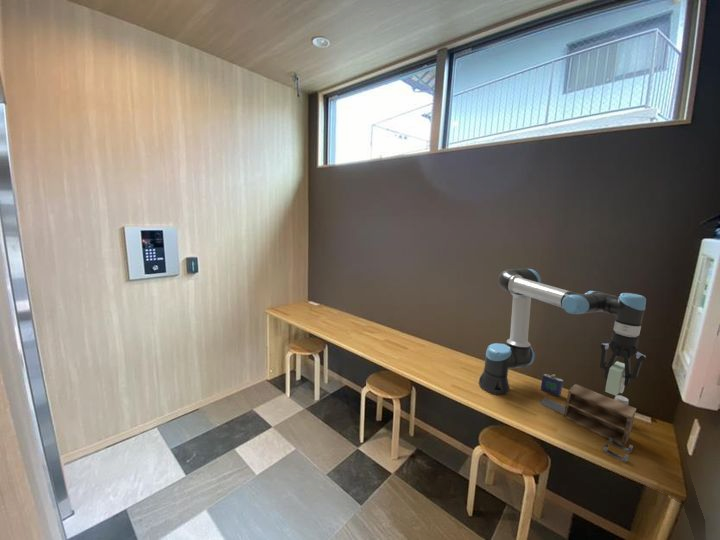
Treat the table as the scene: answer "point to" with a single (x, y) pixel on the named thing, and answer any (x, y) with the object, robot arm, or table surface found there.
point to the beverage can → (621, 399)
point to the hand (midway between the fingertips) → (614, 389)
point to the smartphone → (553, 405)
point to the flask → (551, 385)
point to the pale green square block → (615, 378)
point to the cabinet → (599, 413)
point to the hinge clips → (618, 447)
